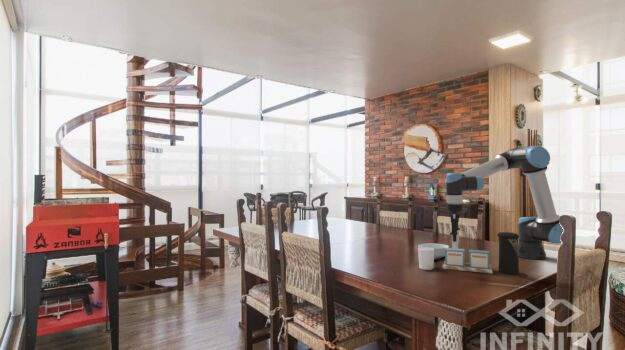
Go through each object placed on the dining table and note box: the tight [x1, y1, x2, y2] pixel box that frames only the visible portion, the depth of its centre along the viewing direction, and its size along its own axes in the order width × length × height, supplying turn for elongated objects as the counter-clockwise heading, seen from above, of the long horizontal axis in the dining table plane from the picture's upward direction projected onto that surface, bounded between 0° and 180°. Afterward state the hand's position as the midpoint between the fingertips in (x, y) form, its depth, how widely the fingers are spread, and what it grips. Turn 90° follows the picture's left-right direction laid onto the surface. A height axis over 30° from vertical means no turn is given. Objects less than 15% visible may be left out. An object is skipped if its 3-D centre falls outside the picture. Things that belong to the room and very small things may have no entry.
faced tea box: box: [468, 248, 491, 269], centre depth 171 cm, size 5×9×9 cm, turn 65°
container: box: [497, 231, 520, 276], centre depth 166 cm, size 9×9×20 cm
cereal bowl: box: [417, 242, 450, 260], centre depth 201 cm, size 17×17×7 cm
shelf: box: [442, 260, 493, 274], centre depth 173 cm, size 22×10×2 cm, turn 65°
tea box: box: [444, 247, 466, 267], centre depth 176 cm, size 5×9×9 cm, turn 66°
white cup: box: [417, 247, 435, 271], centre depth 178 cm, size 8×8×10 cm
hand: (455, 245), depth 176 cm, fingers open, 13 cm apart
